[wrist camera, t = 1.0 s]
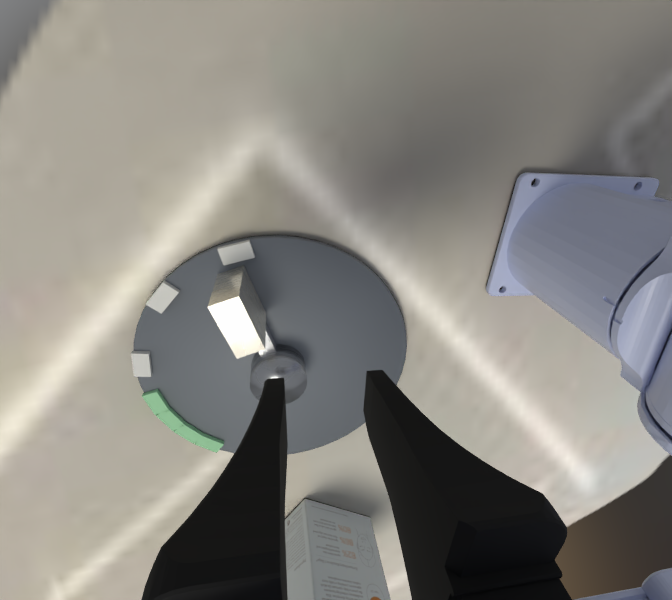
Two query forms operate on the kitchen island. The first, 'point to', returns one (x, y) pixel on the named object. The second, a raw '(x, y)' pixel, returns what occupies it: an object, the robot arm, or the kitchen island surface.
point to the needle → (254, 334)
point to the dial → (286, 329)
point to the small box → (332, 555)
